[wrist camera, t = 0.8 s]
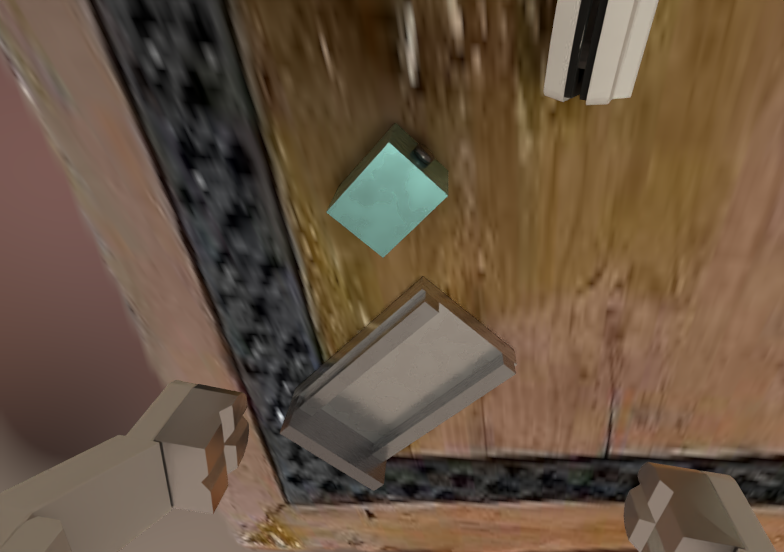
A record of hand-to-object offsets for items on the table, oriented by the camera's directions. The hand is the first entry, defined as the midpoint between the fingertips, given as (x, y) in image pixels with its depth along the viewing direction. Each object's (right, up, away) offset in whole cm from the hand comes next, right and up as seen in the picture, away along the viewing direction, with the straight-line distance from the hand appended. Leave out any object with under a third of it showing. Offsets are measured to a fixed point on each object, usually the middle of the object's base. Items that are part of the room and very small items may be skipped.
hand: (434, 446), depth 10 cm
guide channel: (0, -6, +40) cm, 40 cm away
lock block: (-1, +11, +29) cm, 31 cm away
